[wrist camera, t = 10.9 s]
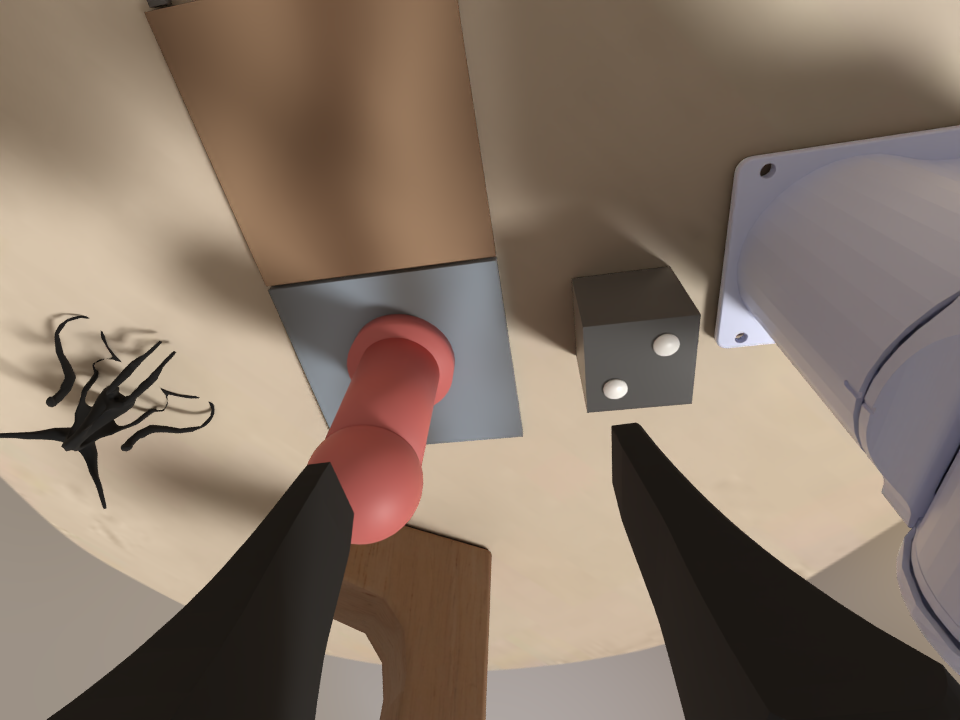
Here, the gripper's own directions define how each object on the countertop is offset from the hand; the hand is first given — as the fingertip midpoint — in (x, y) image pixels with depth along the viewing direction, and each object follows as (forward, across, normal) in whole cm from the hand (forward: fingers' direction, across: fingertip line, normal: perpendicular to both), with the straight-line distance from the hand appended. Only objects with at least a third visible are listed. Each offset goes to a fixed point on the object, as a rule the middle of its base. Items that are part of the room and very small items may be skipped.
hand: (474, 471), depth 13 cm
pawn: (+10, +4, +3) cm, 11 cm away
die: (+10, -6, +2) cm, 12 cm away
